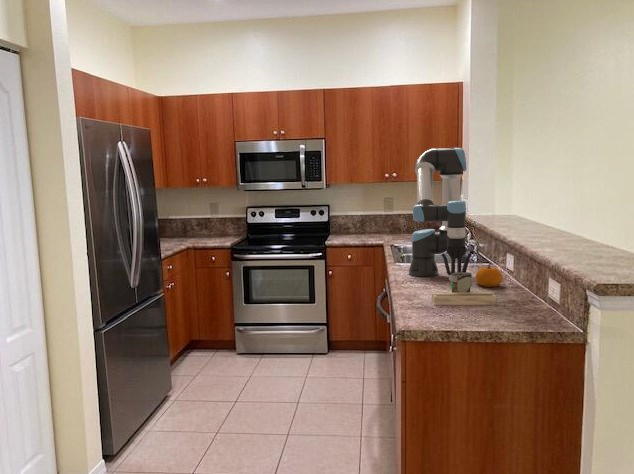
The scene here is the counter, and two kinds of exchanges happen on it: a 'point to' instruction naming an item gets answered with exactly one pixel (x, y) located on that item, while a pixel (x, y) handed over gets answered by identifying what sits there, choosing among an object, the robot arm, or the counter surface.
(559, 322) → the counter surface
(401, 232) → the counter surface
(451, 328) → the counter surface
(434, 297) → the board
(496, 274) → the fruit
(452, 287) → the food container
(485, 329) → the counter surface
